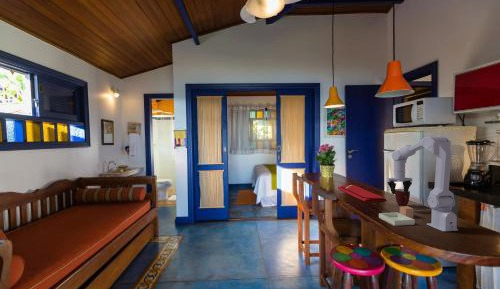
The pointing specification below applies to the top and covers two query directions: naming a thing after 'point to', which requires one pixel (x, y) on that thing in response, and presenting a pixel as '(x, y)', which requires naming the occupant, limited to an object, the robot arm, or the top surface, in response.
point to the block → (406, 211)
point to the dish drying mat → (360, 193)
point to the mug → (402, 197)
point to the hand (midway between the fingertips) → (399, 193)
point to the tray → (396, 219)
